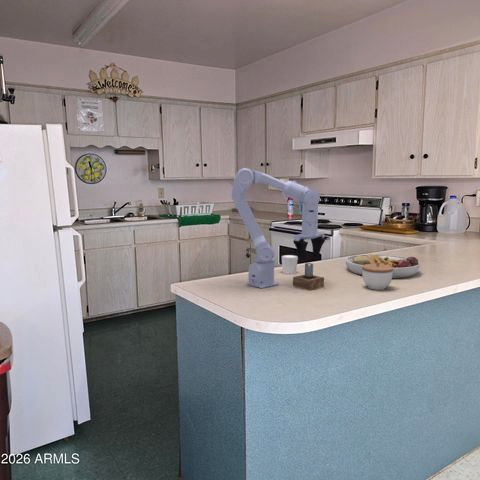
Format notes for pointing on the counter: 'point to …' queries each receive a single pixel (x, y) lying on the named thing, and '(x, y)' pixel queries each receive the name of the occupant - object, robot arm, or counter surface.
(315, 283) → the socket block
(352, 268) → the bowl
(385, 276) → the lidded jar
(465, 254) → the counter surface
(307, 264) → the pin
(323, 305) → the counter surface
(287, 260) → the shot glass
